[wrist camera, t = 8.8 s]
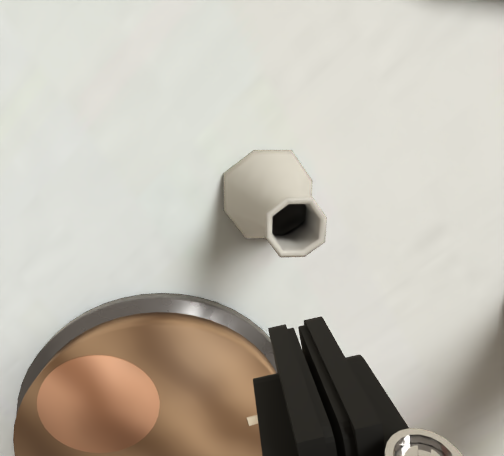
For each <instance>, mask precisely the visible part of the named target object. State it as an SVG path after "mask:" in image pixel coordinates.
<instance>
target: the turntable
mask: <svg viewBox="0 0 504 456" xmlns="http://www.w3.org/2000/svg"><path fill="white" fill-rule="evenodd" d="M271 374H276V371H275V369H274V367H273V366H272V365H271V363H270V362H269V360H268V359H267V358H266V356H265V355H264V354H263V353H262V352H261V351H260V350H259V349H258V348H257V347H256V346H255V345H254V344H253V343H251V342H250V341H249V340H247V339H246V338H245V337H243V336H242V335H241V334H239V333H237V332H235V331H233V330H232V329H230V328H228V327H226V326H224V325H221V324H219V323H217V322H214V321H212V320H208V319H205V318H201V317H197V316H194V315H187V314H181V313H169V312H152V313H140V314H134V315H129V316H124V317H119V318H116V319H113V320H110V321H107V322H104V323H101V324H99V325H97V326H95V327H93V328H91V329H89V330H87V331H85V332H83V333H82V334H80V335H79V336H77V337H75V338H74V339H72V340H71V341H70V342H68V343H67V344H66V345H65V346H64V347H62V348H61V349H60V350H59V351H58V352H57V353H56V354H55V355H54V356H53V357H52V359H51V360H50V361H49V362H48V363H47V364H46V366H45V367H44V368H43V370H42V371H41V372H40V374H39V375H38V376H37V377H36V379H35V380H34V381H33V383H32V385H31V386H30V388H29V389H28V391H27V392H26V394H25V395H24V398H23V400H22V402H21V405H20V407H19V409H18V412H17V416H16V420H15V425H14V437H13V442H14V451H15V456H262V448H261V440H260V433H259V425H258V417H257V409H256V402H255V394H254V386H253V379H254V378H258V377H262V376H267V375H271Z"/></svg>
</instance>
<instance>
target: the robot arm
mask: <svg viewBox="0 0 504 456" xmlns="http://www.w3.org/2000/svg"><path fill="white" fill-rule="evenodd" d="M268 329H269V334H270V339H271V344H272V349H273V354H274V359H275V364H276V369H277V373H276V374H271V375H267V376H262V377H258V378H254V379H253V386H254V394H255V402H256V409H257V417H258V425H259V433H260V440H261V448H262V456H464V455H463V454H462V453H461V452H460V451H459V450H458V449H457V448H456V447H455V446H454V445H452V444H451V443H450V442H449V441H448V440H447V439H445V438H444V437H442V436H440V435H438V434H436V433H434V432H431V431H428V430H424V429H417V428H408V426H407V424H406V423H405V421H404V420H403V418H402V417H401V415H400V414H399V412H398V411H397V409H396V407H395V406H394V404H393V403H392V401H391V400H390V398H389V397H388V395H387V394H386V392H385V390H384V389H383V387H382V386H381V384H380V383H379V381H378V380H377V378H376V377H375V375H374V373H373V372H372V370H371V369H370V367H369V366H368V364H367V363H366V361H365V360H364V358H363V357H362V356H361V355H356V356H351V357H347V358H345V356H344V355H343V353H342V351H341V349H340V348H339V346H338V344H337V342H336V341H335V339H334V337H333V335H332V333H331V332H330V330H329V328H328V326H327V325H326V323H325V321H324V319H323V318H322V317H317V318H313V319H308V320H304V325H303V326H299V334H300V340H301V345H302V349H301V346H300V343H299V341H298V338H297V336H296V333H295V330H294V328H290V329H287V327H286V325H281V326H276V327H272V328H268Z"/></svg>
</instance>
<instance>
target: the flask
mask: <svg viewBox="0 0 504 456" xmlns="http://www.w3.org/2000/svg"><path fill="white" fill-rule="evenodd" d="M223 177H224V211H225V213H226V214H227V215H228V216H229V218H230V219H231V220H232V221H233V223H234V224H235V225H236V227H237V228H238V229H239V230H240V232H241V233H242V234H243V235H244V237H245V238H266V239H267V241H268V242H269V243H270V245H271V246H272V247H273V248H274V250H275V251H276V252H277V254H278V255H279V256H280V257H305V256H306V255H308V254H309V253H311V252H312V251H313V250H315V249H316V248H317V247H319V246H320V245H322V244H323V243H324V242H325V236H326V221H327V217H326V216H325V214H324V213H323V212H322V210H321V209H320V207H319V206H318V204H317V203H316V201H315V200H314V198H313V197H311V195H312V180H311V178H310V177H309V175H308V174H307V172H306V171H305V169H304V168H303V166H302V165H301V163H300V162H299V160H298V159H297V157H296V156H295V154H294V153H293V151H292V150H253V151H252V152H251V153H249V154H248V155H247V156H246V157H244V158H243V159H242V160H240V161H239V162H238V163H236V164H235V165H234V166H232V167H231V168H230V169H228V170H227V171H226V172H225V173H223Z"/></svg>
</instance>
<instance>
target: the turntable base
mask: <svg viewBox="0 0 504 456" xmlns="http://www.w3.org/2000/svg"><path fill="white" fill-rule="evenodd" d="M152 312H169V313H181V314H187V315H194V316H197V317H201V318H205V319H208V320H212V321H214V322H217V323H219V324H221V325H224V326H226V327H228V328H230V329H232V330H233V331H235V332H237V333H239V334H241V335H242V336H243V337H245V338H246V339H247V340H249V341H250V342H251V343H253V344H254V345H255V346H256V347H257V348H258V349H259V350H260V351H261V352H262V353H263V354H264V355H265V356H266V358H267V359H268V360H269V362H270V363H271V365H272V366H273V367H274V369H275V371H276V373H277V369H276V364H275V359H274V354H273V349H272V344H271V339H270V337H269V336H268V335H267V334H266V333H265V332H264V331H263V330H262V329H261V328H260V327H258V326H257V325H256V324H255V323H253V322H252V321H251V320H250V319H248V318H247V317H245V316H243V315H242V314H240V313H238V312H237V311H235V310H233V309H231V308H228V307H226V306H224V305H222V304H219V303H217V302H214V301H210V300H207V299H203V298H200V297H195V296H189V295H183V294H169V293H155V294H141V295H135V296H130V297H125V298H120V299H117V300H114V301H111V302H108V303H105V304H102V305H100V306H98V307H95V308H93V309H91V310H89V311H87V312H85V313H83V314H82V315H80V316H78V317H77V318H75V319H74V320H72V321H70V322H69V323H68V324H67V325H66V326H64V327H63V328H62V329H61V330H60V331H58V332H57V333H56V334H55V335H54V336H53V337H52V339H51V340H50V341H49V342H48V343H47V344H46V345H45V346H44V347H43V349H42V350H41V351H40V352H39V353H38V355H37V356H36V358H35V360H34V361H33V363H32V364H31V366H30V367H29V369H28V371H27V373H26V376H25V378H24V380H23V382H22V385H21V389H20V393H19V397H18V404H17V412H18V409H19V407H20V405H21V402H22V400H23V398H24V395H25V394H26V392H27V391H28V389H29V388H30V386H31V385H32V383H33V381H34V380H35V379H36V377H37V376H38V375H39V374H40V372H41V371H42V370H43V368H44V367H45V366H46V364H47V363H48V362H49V361H50V360H51V359H52V357H53V356H54V355H55V354H56V353H57V352H58V351H59V350H60V349H61V348H62V347H64V346H65V345H66V344H67V343H68V342H70V341H71V340H72V339H74V338H75V337H77V336H79V335H80V334H82V333H83V332H85V331H87V330H89V329H91V328H93V327H95V326H97V325H99V324H101V323H104V322H107V321H110V320H113V319H116V318H119V317H124V316H129V315H134V314H140V313H152Z"/></svg>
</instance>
